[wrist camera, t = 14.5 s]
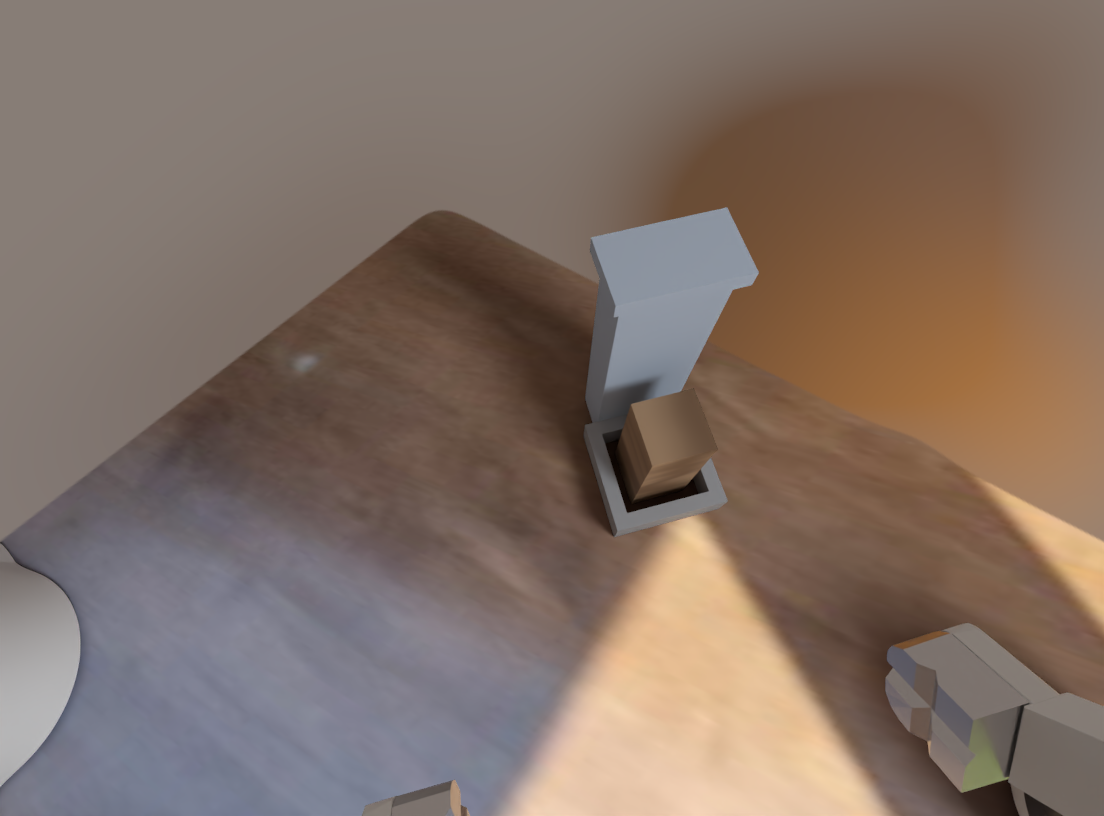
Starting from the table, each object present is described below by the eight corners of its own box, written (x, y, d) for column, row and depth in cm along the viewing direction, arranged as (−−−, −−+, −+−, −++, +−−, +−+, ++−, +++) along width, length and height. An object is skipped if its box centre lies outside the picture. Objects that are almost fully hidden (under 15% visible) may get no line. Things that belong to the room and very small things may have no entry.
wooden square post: (631, 504, 41) (652, 466, 32) (614, 454, 43) (630, 403, 33) (681, 490, 42) (718, 449, 32) (664, 441, 43) (693, 388, 34)
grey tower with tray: (614, 537, 40) (658, 461, 23) (571, 396, 44) (581, 239, 27) (718, 508, 41) (839, 413, 23) (666, 372, 45) (736, 205, 28)
